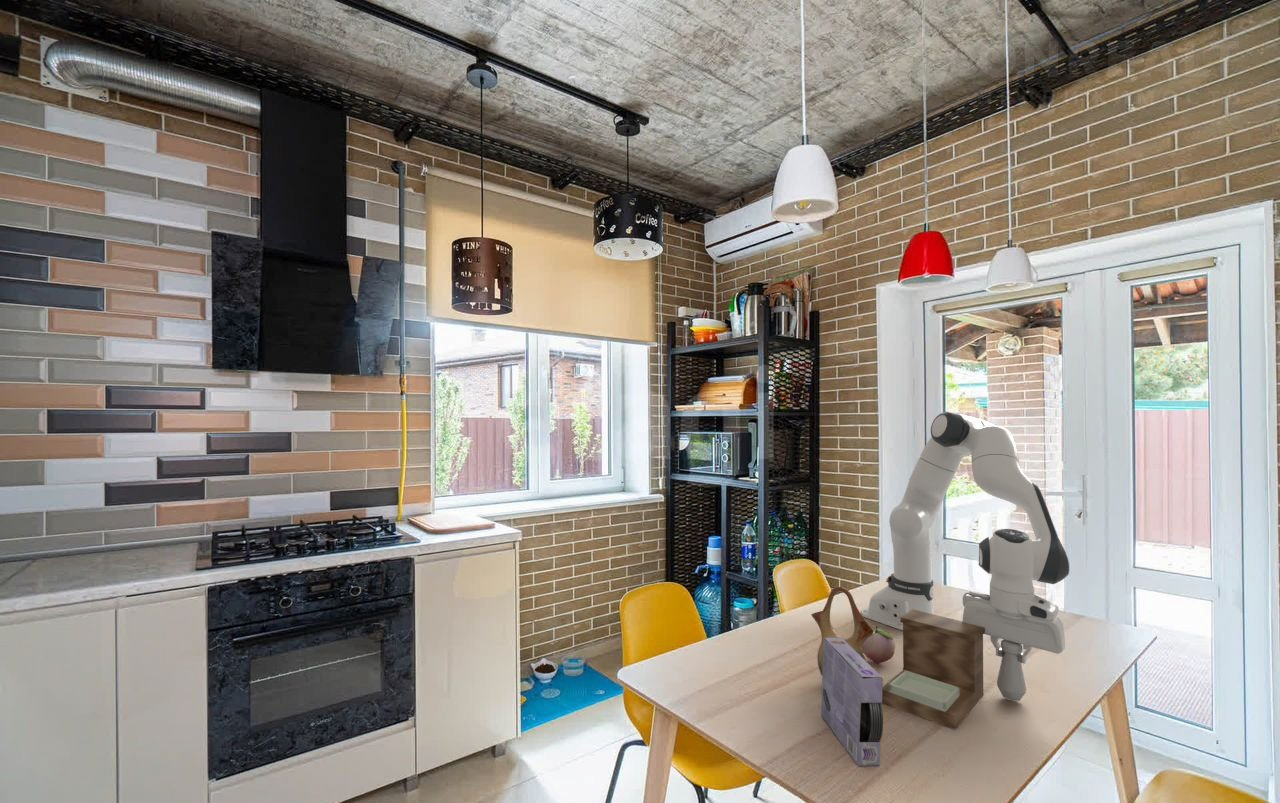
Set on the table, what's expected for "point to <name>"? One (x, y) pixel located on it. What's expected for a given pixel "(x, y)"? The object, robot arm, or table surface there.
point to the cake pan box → (852, 701)
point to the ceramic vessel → (827, 631)
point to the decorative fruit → (879, 646)
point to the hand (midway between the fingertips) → (1011, 659)
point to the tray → (924, 690)
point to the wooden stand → (941, 663)
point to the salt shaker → (1011, 672)
